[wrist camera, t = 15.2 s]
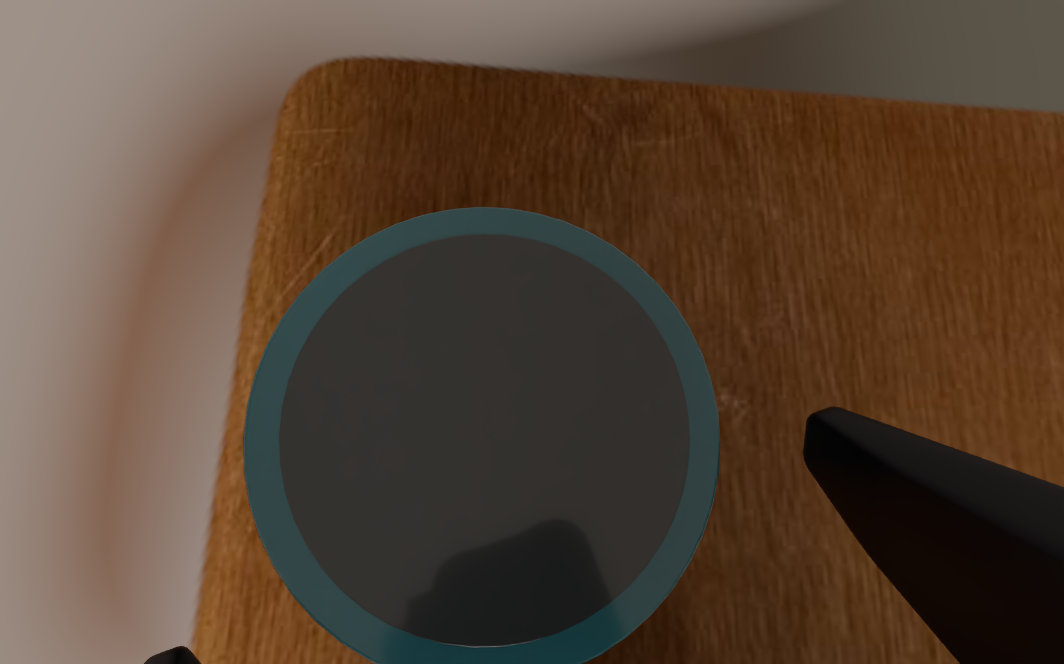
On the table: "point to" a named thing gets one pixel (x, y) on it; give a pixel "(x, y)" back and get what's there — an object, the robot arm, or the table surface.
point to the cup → (481, 443)
